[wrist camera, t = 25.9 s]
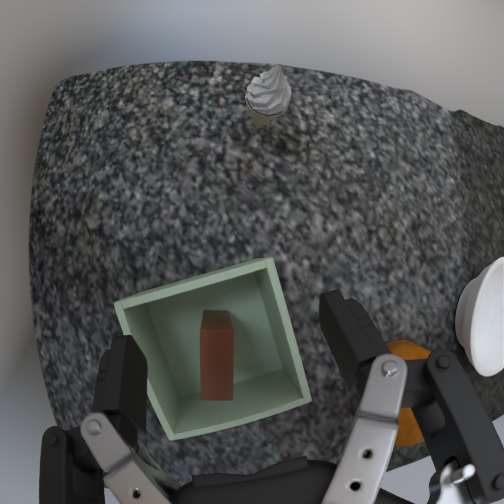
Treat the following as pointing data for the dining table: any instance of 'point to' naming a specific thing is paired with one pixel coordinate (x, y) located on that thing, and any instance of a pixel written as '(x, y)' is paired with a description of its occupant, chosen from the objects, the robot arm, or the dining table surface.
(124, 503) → the robot arm
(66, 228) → the dining table surface
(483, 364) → the bowl
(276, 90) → the ice cream cone
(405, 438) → the bread
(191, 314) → the trash bin
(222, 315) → the chocolate bar
